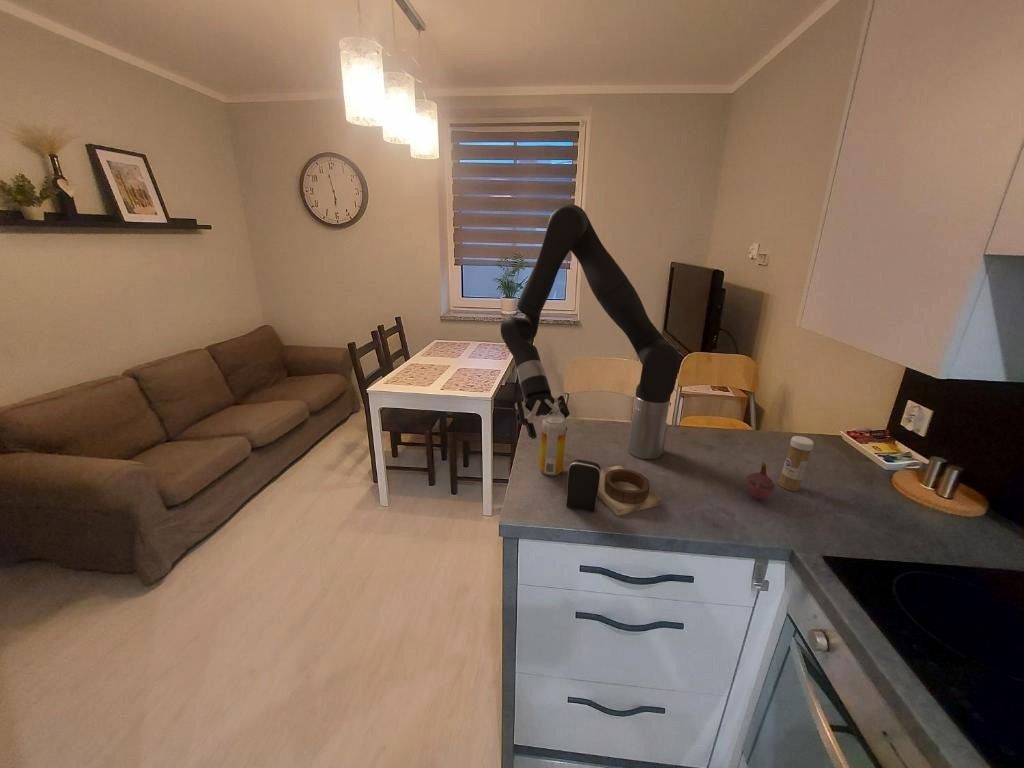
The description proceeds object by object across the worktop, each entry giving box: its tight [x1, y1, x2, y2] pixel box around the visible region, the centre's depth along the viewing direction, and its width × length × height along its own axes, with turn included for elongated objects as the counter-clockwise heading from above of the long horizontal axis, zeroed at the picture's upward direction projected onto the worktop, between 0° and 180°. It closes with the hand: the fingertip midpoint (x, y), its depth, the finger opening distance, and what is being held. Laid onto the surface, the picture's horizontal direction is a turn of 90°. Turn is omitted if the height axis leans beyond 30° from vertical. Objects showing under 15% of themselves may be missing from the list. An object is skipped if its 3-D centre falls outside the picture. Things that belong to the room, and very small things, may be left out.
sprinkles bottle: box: [778, 435, 815, 492], centre depth 102 cm, size 5×5×14 cm
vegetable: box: [745, 461, 775, 500], centre depth 97 cm, size 6×6×10 cm
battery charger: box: [565, 458, 602, 513], centre depth 92 cm, size 7×4×11 cm, turn 71°
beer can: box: [539, 414, 567, 476], centre depth 105 cm, size 6×6×15 cm
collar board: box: [597, 464, 662, 516], centre depth 99 cm, size 12×16×4 cm
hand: (549, 436), depth 106 cm, fingers open, 8 cm apart
